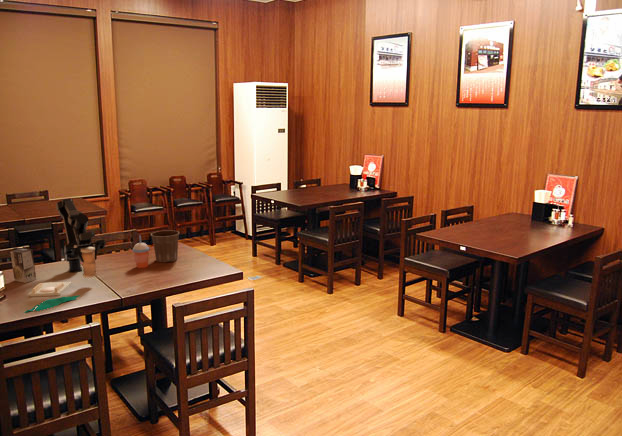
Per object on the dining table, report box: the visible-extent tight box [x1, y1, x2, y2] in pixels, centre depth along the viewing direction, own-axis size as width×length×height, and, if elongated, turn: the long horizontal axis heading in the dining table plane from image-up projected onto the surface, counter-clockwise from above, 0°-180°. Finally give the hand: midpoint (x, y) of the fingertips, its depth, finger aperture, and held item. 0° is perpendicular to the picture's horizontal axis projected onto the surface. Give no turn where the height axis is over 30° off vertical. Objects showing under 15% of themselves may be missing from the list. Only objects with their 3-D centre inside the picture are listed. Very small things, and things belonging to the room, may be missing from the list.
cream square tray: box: [28, 281, 73, 297], centre depth 249 cm, size 16×14×3 cm
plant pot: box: [150, 229, 180, 263], centre depth 297 cm, size 16×16×16 cm
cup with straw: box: [132, 235, 150, 269], centre depth 284 cm, size 9×9×18 cm
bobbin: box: [81, 247, 98, 279], centre depth 253 cm, size 6×6×14 cm
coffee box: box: [9, 247, 37, 284], centre depth 263 cm, size 9×6×16 cm
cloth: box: [24, 295, 81, 314], centre depth 232 cm, size 26×14×2 cm, turn 133°
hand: (89, 260), depth 252 cm, fingers closed on bobbin, 6 cm apart
